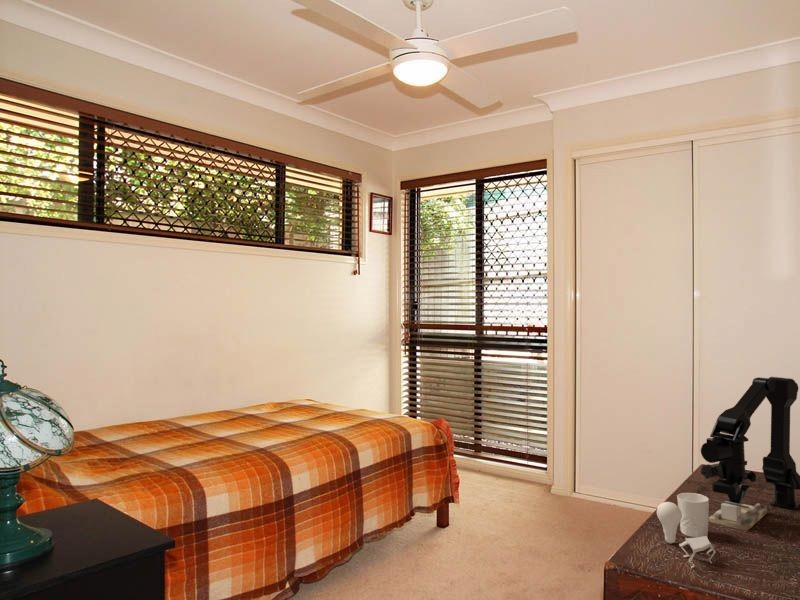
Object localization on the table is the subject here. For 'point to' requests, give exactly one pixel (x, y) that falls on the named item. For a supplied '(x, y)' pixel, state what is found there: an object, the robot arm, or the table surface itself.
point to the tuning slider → (730, 510)
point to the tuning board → (745, 521)
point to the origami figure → (697, 546)
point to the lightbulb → (669, 519)
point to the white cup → (694, 514)
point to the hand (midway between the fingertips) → (735, 510)
